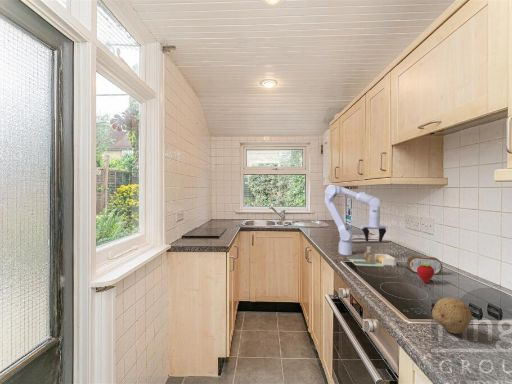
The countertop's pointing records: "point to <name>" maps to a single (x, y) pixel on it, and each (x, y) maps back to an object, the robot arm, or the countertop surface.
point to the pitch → (385, 261)
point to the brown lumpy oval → (452, 315)
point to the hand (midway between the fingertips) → (373, 241)
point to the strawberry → (425, 272)
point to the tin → (418, 260)
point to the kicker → (369, 255)
